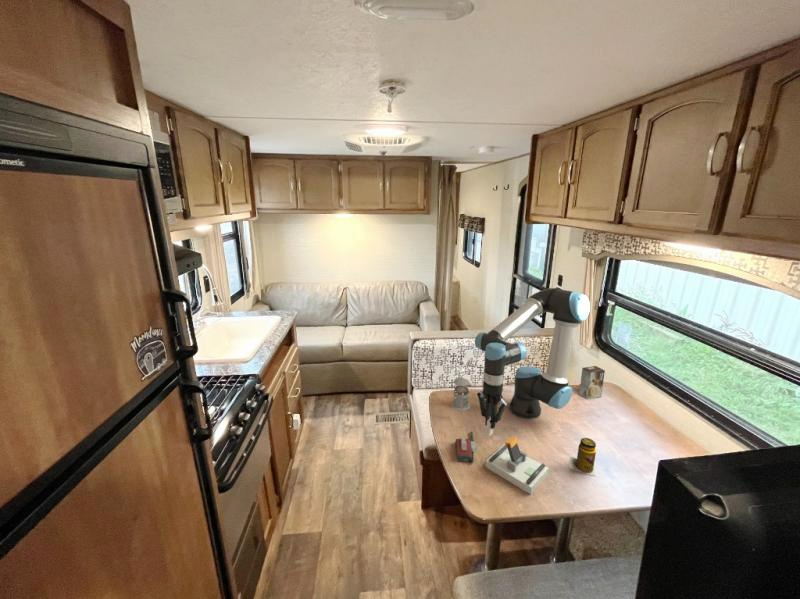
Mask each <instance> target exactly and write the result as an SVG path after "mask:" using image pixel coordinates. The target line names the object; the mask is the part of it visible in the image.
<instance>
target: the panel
mask: <svg viewBox="0 0 800 599" xmlns="http://www.w3.org/2000/svg"><path fill="white" fill-rule="evenodd" d="M520 454H521V455H522V456H523V460H522V461H521V462H520V463H519V464H518V465H517V464H516V463H514V462H512V461H511V458H510V455H509V451H508V448H507V447H506V445H505V444H503V445H502V446H500V448H498V449H497V450H496V451H494V453H493V454H491V455H490V457H488V458H487V459H486V460H485V468H486V469H488V470H490V471H491V472H493V473H494V474H496V475H498V476H499V477H501V478H503V479H504V480H506V481H508V482H509V483H511V484H513V485H514V486H515V487H516V486H517V488H519V489H521V490H523V491H525V493H528V494H529V495H532V494H533V493H534V492H535V490H536V489H537V488H538V487H539V486H540V484H541V483H542V482H543V481H544V480H545V479H546V477H547V476H548V475H549V469H550V468H549V467H548V466H546V465H545V463H540V462H538V461H536V460H535V459H534V458H533V459H532V458H531V457H529V456H527V455H528V454H527V453H525V452H523V451H522V450H520ZM516 465H517V466H516Z"/></svg>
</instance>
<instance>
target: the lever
mask: <svg viewBox="0 0 800 599" xmlns="http://www.w3.org/2000/svg"><path fill="white" fill-rule="evenodd" d="M518 443H519V441H518V437H517V436H510V437H508V439H507V440H506V441H504V445H506V447H507V448H508V451H509V455H510V458H511V461H512V462H514V463H516V464H517V465H518V464H519V463H520V462H521V461H522V460H523V456H522V455H521V454H520V451H521V450H520V448H519V444H518ZM517 465H516V466H517Z"/></svg>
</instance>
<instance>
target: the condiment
mask: <svg viewBox="0 0 800 599" xmlns="http://www.w3.org/2000/svg"><path fill="white" fill-rule="evenodd" d="M596 446H597V443H596V442H595V441H594V440H593V439H591V438H588V437H582V438H581V439H580V443H579V445H578V448H577V456H576V458H575V457H573V456H570V462H569V469H571V470H574V471H578V472H580V473H583V474H586V475H590V476H593V477H595V461H596V460H595V459H596V453H597V449H596Z"/></svg>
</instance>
